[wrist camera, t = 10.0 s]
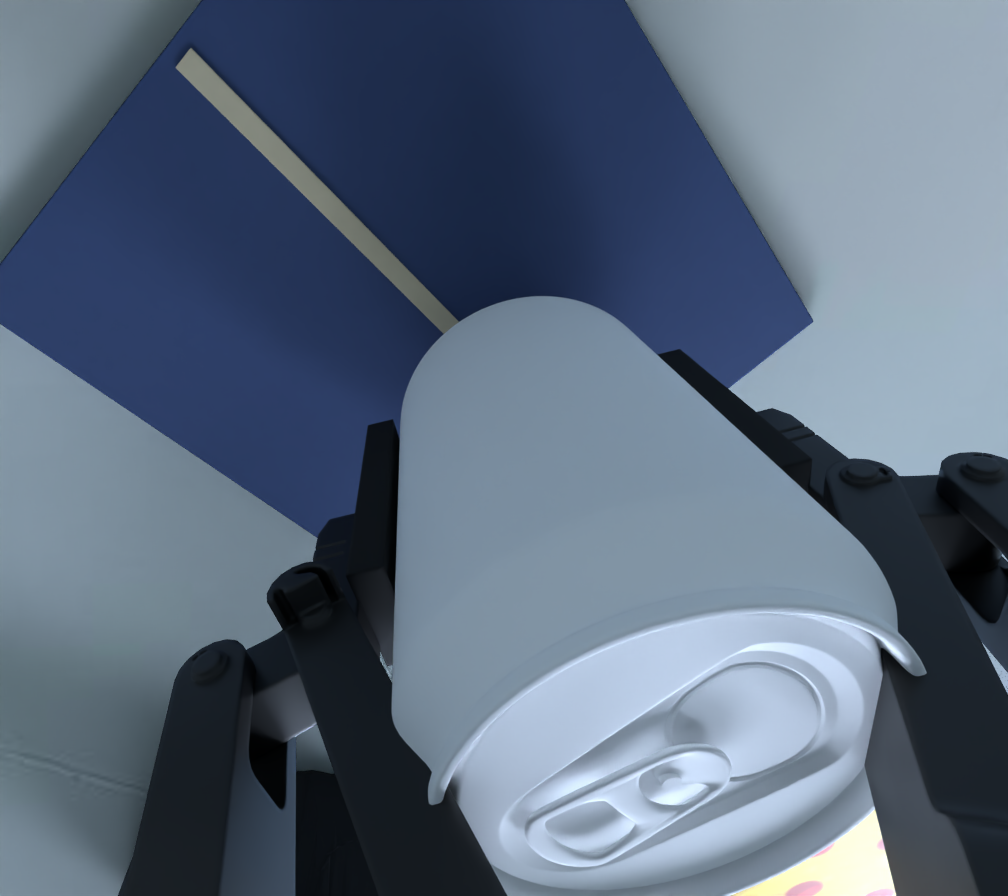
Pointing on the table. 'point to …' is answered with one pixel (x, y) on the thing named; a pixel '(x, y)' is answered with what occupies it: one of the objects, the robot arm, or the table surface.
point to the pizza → (837, 869)
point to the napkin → (378, 222)
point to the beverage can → (623, 618)
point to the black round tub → (324, 842)
